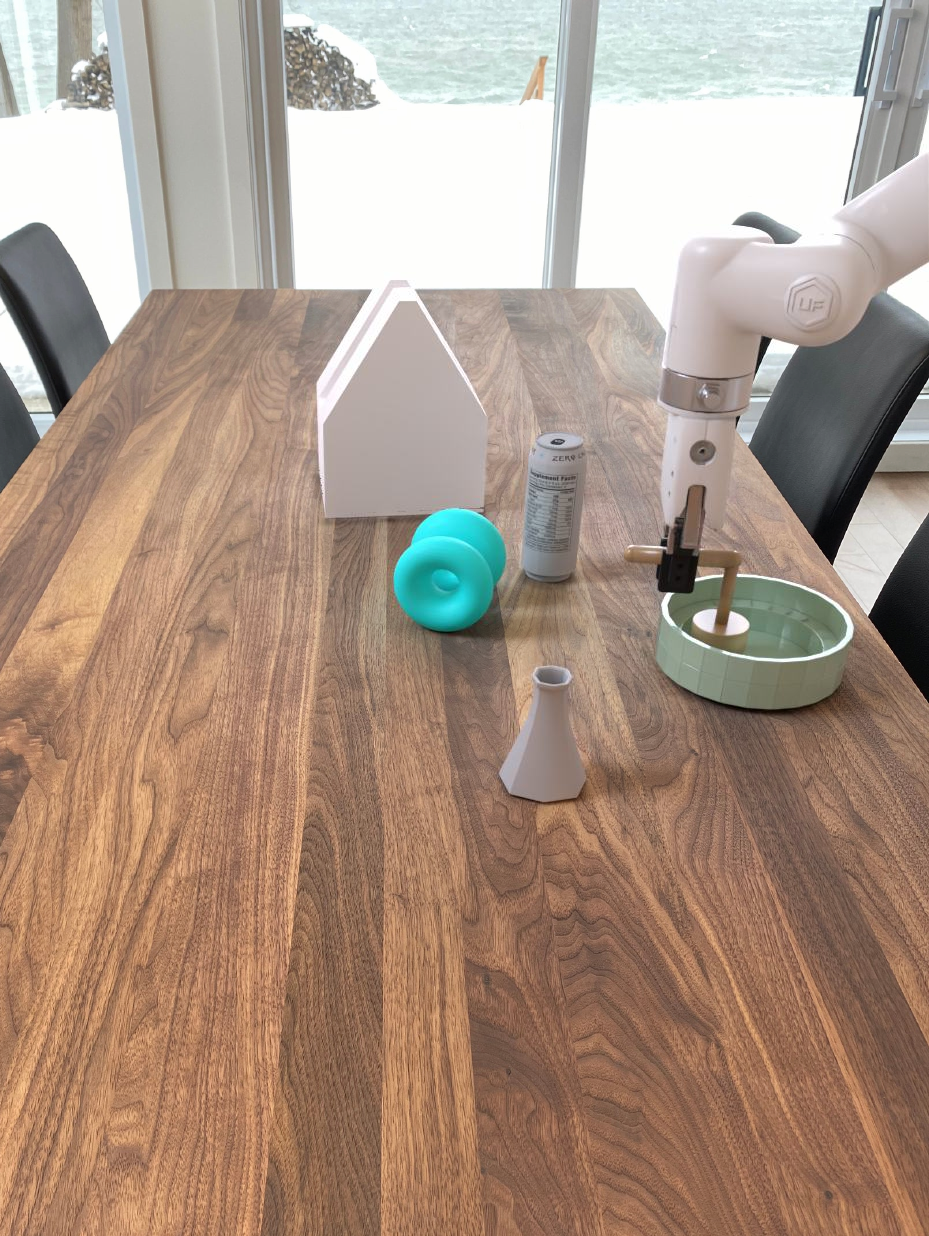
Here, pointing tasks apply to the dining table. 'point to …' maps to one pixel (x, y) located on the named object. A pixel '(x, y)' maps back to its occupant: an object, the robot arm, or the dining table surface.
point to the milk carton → (398, 414)
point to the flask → (546, 744)
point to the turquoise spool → (450, 570)
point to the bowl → (758, 644)
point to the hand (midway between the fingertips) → (673, 584)
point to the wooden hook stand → (719, 623)
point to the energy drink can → (553, 506)
